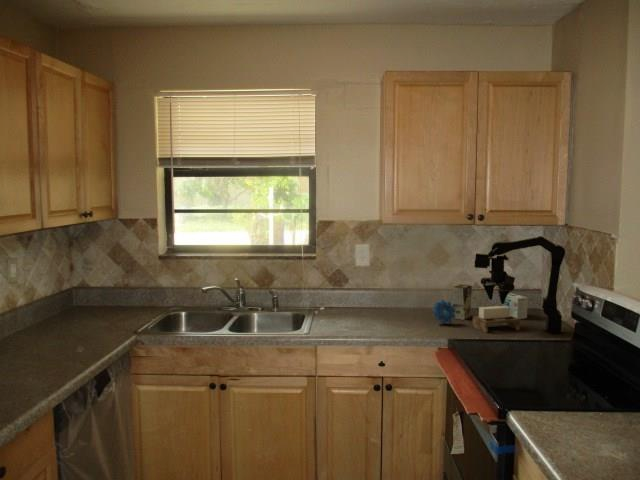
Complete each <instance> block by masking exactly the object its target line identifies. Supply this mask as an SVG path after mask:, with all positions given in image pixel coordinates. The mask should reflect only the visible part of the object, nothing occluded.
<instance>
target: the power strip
mask: <svg viewBox="0 0 640 480" xmlns="http://www.w3.org/2000/svg"><path fill="white" fill-rule="evenodd" d="M478 316H479V317H480V318H483V319H484V320H486V321H487V319H489V318H504V319H505V317H510V307H508V306H503V305H494V306H480V307H478Z"/></svg>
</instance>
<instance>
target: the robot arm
mask: <svg viewBox="0 0 640 480" xmlns="http://www.w3.org/2000/svg"><path fill="white" fill-rule="evenodd" d="M538 246H540V247H542V248H543V249H545V250H546V251H548V252H549V253H550V263H551V264H550V273H549V277H548V278H549V280H548V285H547V286H548V287H547V293H546V296H545V297H544V296H542V303H541V309H542V311H543V314H545V316H546V319H545V328H543V329H542V330H543V331H545V332H547V333H549V334H552V335H554V334H555V335H556V334H564V333H565V331H564V330H562V326H563V325H562V323H563V322H562V321H563V319H562V318H563V316H562V313H561V312H562V311H560V310H559V309H558V302H557V301H558V300H557V293H558V285H559V278H560V271H561V266H562V263H563V261H564V258H565V255H566V249H565V247H563V246H562V245H561V244H556V243H554V242H552V241H550V240H549V239H547V238H546V237H544V236H542V235H539V236H537V237H531V238H525V239H519V240H514V241H495V242H494V243H493V244H492V246H491V250H490V251H489V252H488V254H486V253H479V252H477V253H475V259H474V268H475V269H488V267H490V270H488V272H489V274H490V277H489V276H488V277H482V278H481V279H480V284H481V285H482V287H483V289H484V290H485V292H486V294H487V297H488V299H489V301H491V300H493V297H494V289H495V287H497V288H498V289H497V290H498V296H499V300H500V304H501V305H503V304H504V302H505V299H506V297H507V295H508V294H510V292H513V291H514V290H515V280H516V277H514V276H511V275H508V273H507V271H505V261H509V257H508V256H507V253H509V252H511V251H515V250H520V249H527V248H533V247H538ZM495 256H496V257H495ZM490 265H491V266H490Z"/></svg>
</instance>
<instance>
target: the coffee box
mask: <svg viewBox="0 0 640 480" xmlns="http://www.w3.org/2000/svg"><path fill="white" fill-rule="evenodd" d="M472 288H473V286H472V285H470V284H458V285H455V286H453V290H452V291H453V293H452V306H453V307H454V308H455V312H453V313H455V315H456V316H455V318H454V320H455V319H457V320H462V321H465V320H467V319H468V318H470V317H471V316H472V314H471V313H472V291H473V289H472Z"/></svg>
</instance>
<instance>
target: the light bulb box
mask: <svg viewBox="0 0 640 480" xmlns="http://www.w3.org/2000/svg"><path fill="white" fill-rule="evenodd" d="M528 299H529V298H528V297H527V296H525V295H520V294H515V293H512V292H511V293H508V295H507V297H506V299H505V302H504V304H502V306H508V307H510V316H513V317H515V318H518V319H520V320H523V319H527V318H528V302H529V300H528Z"/></svg>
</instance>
